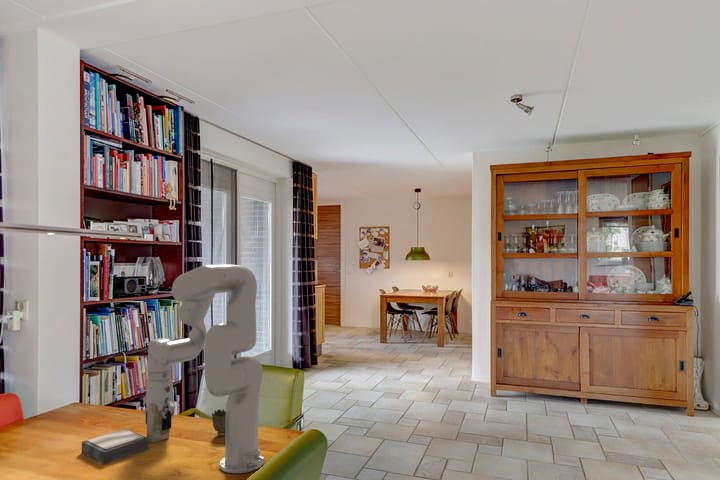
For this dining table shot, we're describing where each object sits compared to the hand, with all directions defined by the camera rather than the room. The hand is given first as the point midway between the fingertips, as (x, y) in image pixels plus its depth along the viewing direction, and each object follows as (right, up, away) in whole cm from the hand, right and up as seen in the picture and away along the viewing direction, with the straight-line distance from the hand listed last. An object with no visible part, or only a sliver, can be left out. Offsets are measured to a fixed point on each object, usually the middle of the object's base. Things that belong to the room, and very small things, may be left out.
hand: (158, 426), depth 161 cm
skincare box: (0, -4, 0) cm, 4 cm away
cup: (+21, -5, +3) cm, 22 cm away
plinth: (-9, -4, -11) cm, 15 cm away
